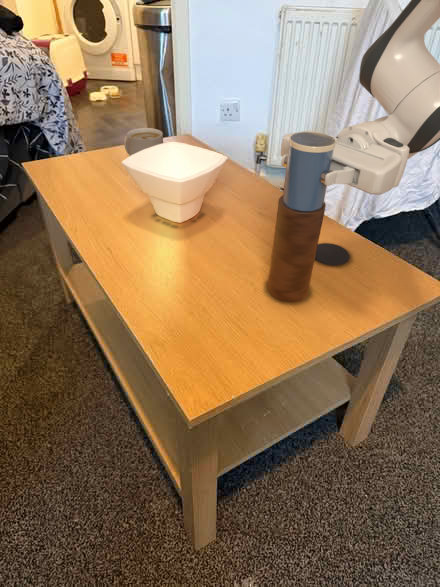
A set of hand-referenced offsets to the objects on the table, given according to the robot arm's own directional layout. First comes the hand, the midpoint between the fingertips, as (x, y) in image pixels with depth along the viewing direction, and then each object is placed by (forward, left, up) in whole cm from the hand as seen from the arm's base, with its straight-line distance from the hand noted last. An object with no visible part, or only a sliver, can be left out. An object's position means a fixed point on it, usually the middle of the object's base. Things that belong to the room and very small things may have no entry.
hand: (303, 170), depth 62 cm
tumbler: (-1, -1, -5) cm, 6 cm away
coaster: (-9, -15, -23) cm, 29 cm away
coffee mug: (+45, -51, -24) cm, 72 cm away
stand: (-1, -1, -23) cm, 24 cm away
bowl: (+28, -24, -24) cm, 43 cm away
